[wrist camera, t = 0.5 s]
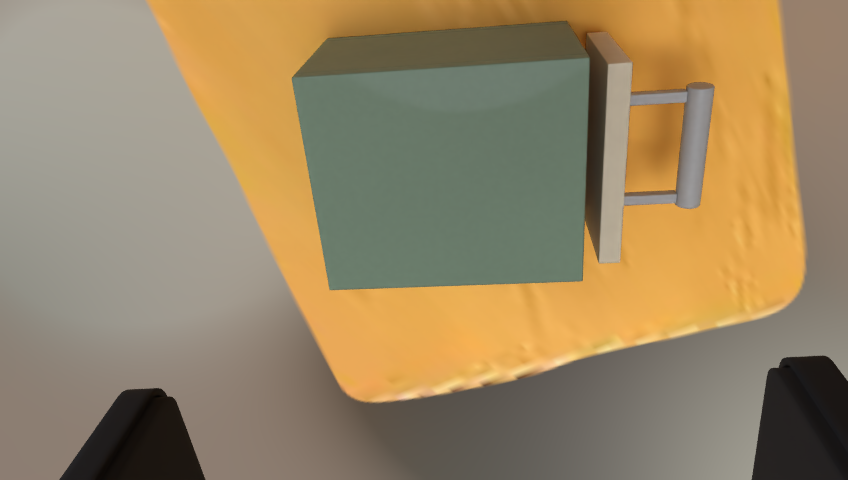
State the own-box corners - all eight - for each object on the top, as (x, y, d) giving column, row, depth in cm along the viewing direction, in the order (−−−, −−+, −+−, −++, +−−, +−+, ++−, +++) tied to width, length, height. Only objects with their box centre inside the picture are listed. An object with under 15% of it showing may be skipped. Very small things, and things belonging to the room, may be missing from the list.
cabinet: (567, 20, 40) (590, 57, 32) (564, 210, 46) (582, 281, 38) (326, 38, 41) (291, 77, 33) (354, 220, 47) (329, 290, 39)
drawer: (693, 25, 38) (737, 55, 32) (675, 203, 44) (709, 259, 38) (378, 47, 40) (360, 80, 34) (398, 216, 46) (385, 271, 39)
